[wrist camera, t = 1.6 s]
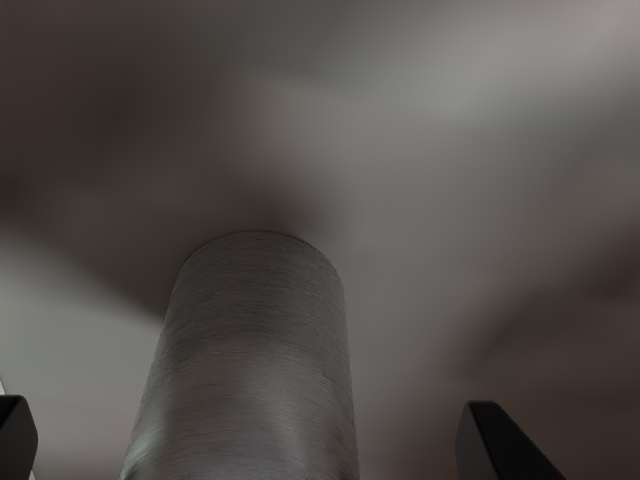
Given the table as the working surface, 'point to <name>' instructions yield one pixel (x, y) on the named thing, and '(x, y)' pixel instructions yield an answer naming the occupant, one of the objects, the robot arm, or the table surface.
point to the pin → (249, 370)
